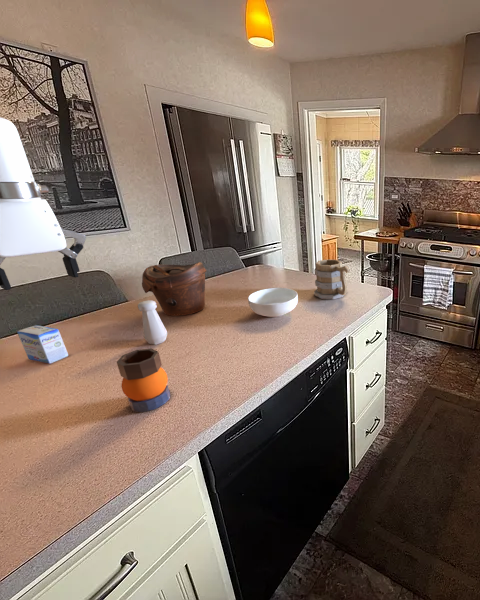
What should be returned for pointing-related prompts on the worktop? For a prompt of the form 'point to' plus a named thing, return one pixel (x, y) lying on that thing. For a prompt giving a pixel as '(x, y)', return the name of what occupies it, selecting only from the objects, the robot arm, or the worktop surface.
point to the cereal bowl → (273, 301)
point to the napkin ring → (139, 364)
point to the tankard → (330, 279)
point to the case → (176, 287)
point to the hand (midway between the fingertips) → (41, 282)
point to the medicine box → (42, 344)
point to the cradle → (150, 402)
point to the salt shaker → (152, 323)
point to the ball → (145, 386)
